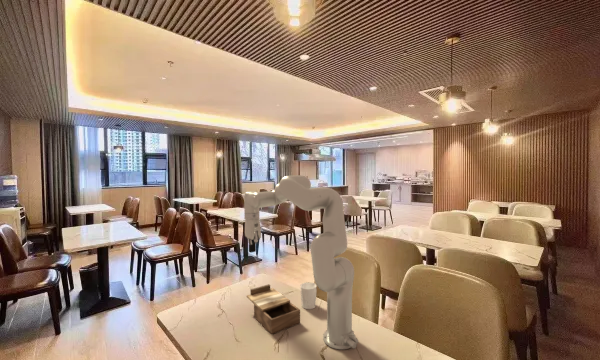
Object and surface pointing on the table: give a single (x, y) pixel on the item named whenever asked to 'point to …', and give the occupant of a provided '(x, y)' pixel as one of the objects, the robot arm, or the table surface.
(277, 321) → the tea box
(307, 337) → the table surface
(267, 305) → the tea box lid
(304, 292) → the white cup
